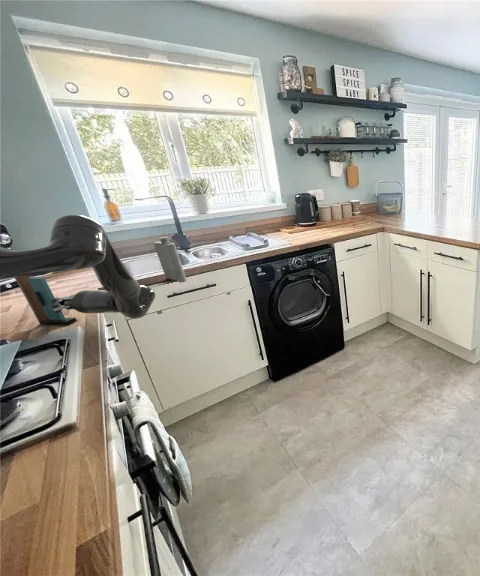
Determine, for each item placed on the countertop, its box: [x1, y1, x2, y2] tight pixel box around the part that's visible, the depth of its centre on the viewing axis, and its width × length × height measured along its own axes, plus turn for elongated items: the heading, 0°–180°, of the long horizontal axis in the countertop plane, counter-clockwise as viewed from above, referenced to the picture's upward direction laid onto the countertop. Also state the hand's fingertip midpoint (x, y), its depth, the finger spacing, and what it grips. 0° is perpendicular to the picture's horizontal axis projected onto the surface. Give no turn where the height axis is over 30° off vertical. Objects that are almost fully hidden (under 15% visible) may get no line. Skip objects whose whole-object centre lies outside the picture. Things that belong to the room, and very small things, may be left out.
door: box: [27, 277, 66, 320], centre depth 104 cm, size 3×6×15 cm, turn 80°
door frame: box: [14, 272, 77, 326], centre depth 104 cm, size 3×12×20 cm, turn 80°
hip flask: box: [153, 236, 188, 283], centre depth 142 cm, size 16×4×20 cm, turn 57°
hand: (54, 301), depth 104 cm, fingers closed
